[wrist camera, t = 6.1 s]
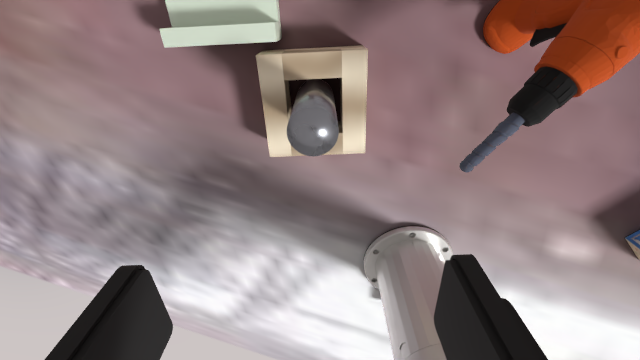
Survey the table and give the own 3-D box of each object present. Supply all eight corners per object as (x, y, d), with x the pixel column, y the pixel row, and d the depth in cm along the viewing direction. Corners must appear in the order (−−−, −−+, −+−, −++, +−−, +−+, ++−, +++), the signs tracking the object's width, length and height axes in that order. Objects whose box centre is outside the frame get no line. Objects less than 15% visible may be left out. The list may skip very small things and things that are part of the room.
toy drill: (390, 115, 32) (462, 164, 18) (537, -44, 27) (783, -140, 14) (420, 143, 34) (507, 208, 20) (564, -3, 29) (810, -52, 15)
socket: (360, 139, 35) (365, 153, 31) (275, 142, 35) (270, 157, 32) (362, 45, 30) (367, 49, 27) (263, 50, 30) (255, 55, 27)
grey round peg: (334, 115, 34) (339, 155, 24) (298, 116, 34) (289, 157, 24) (333, 77, 32) (338, 105, 22) (295, 79, 32) (284, 107, 22)
